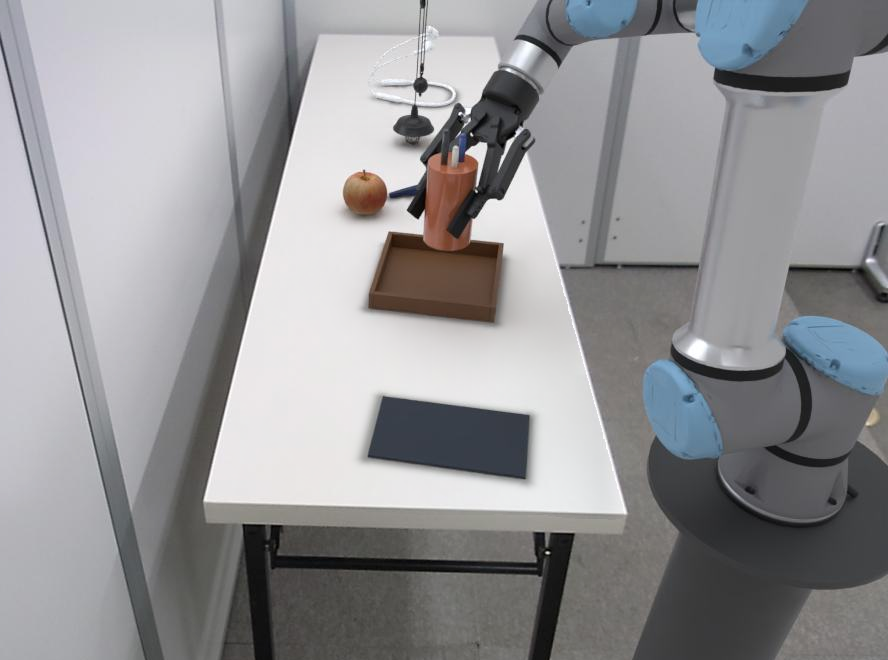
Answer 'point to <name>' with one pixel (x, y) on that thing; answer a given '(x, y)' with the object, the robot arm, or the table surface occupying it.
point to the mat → (451, 437)
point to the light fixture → (414, 122)
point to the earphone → (428, 48)
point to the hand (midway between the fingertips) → (432, 224)
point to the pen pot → (448, 193)
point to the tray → (437, 278)
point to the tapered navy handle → (404, 192)
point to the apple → (364, 193)
